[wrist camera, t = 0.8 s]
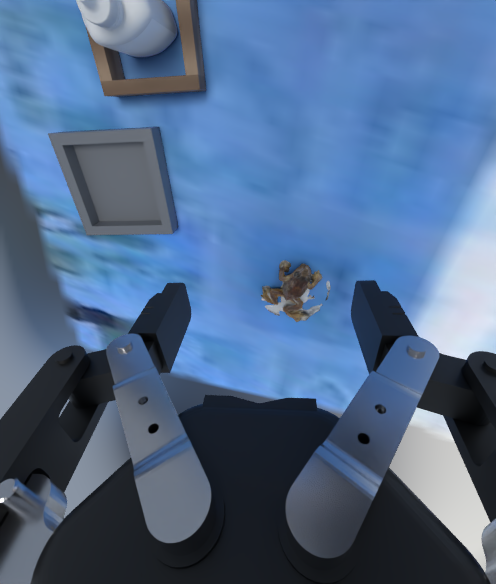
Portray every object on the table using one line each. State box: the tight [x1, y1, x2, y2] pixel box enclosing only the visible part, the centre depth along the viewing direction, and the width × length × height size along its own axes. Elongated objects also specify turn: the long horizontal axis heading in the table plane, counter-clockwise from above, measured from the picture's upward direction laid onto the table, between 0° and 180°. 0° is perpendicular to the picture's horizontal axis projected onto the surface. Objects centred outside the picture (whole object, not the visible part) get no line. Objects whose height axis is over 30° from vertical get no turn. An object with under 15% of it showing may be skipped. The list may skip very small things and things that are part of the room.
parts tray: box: [48, 127, 178, 235], centre depth 35 cm, size 12×12×2 cm
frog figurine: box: [261, 260, 330, 322], centre depth 42 cm, size 12×12×4 cm
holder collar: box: [85, 0, 206, 97], centre depth 27 cm, size 10×10×3 cm
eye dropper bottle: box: [76, 0, 178, 57], centre depth 23 cm, size 4×6×12 cm
